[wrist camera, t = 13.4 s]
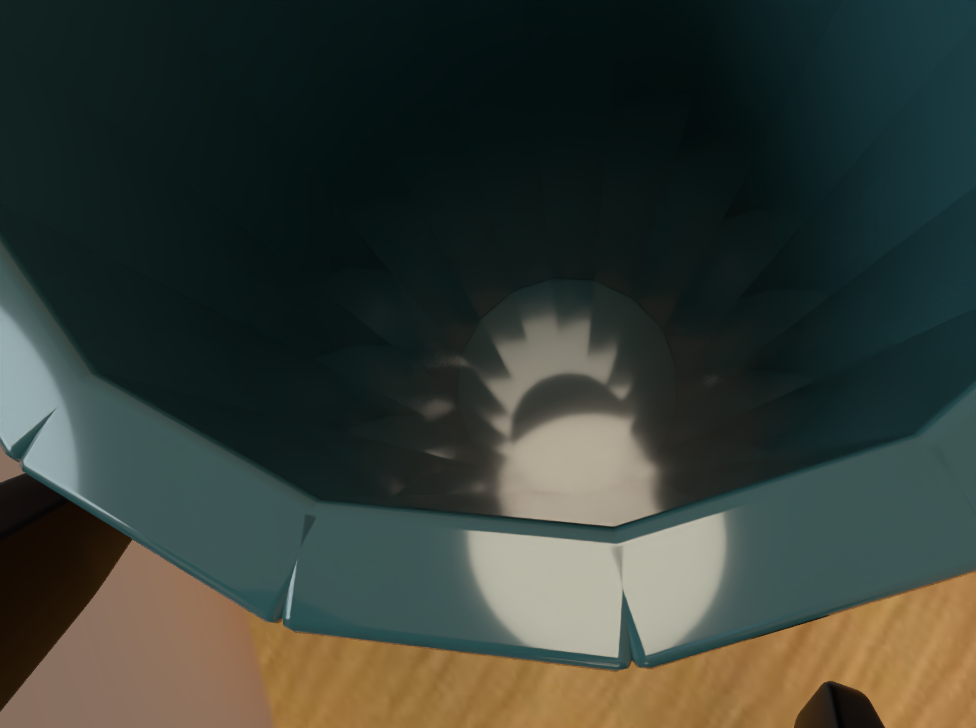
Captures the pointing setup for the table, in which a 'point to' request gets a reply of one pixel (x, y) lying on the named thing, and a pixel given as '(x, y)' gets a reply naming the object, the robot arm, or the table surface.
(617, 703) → the table surface
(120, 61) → the tumbler
